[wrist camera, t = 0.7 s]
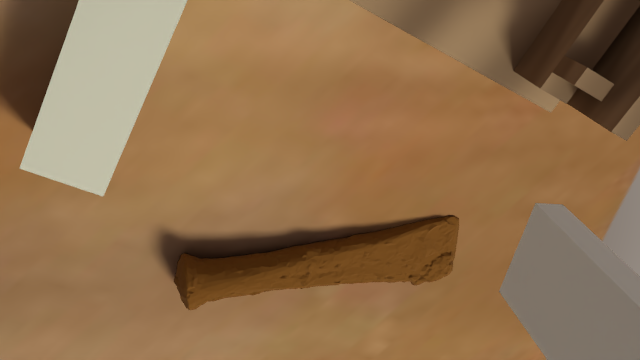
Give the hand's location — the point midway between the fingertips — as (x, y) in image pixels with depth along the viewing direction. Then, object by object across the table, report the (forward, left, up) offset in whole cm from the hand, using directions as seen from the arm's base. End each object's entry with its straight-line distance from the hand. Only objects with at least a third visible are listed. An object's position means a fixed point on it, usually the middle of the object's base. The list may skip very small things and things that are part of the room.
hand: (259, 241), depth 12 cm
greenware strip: (-5, -2, -20) cm, 20 cm away
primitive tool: (+12, -11, -20) cm, 26 cm away
